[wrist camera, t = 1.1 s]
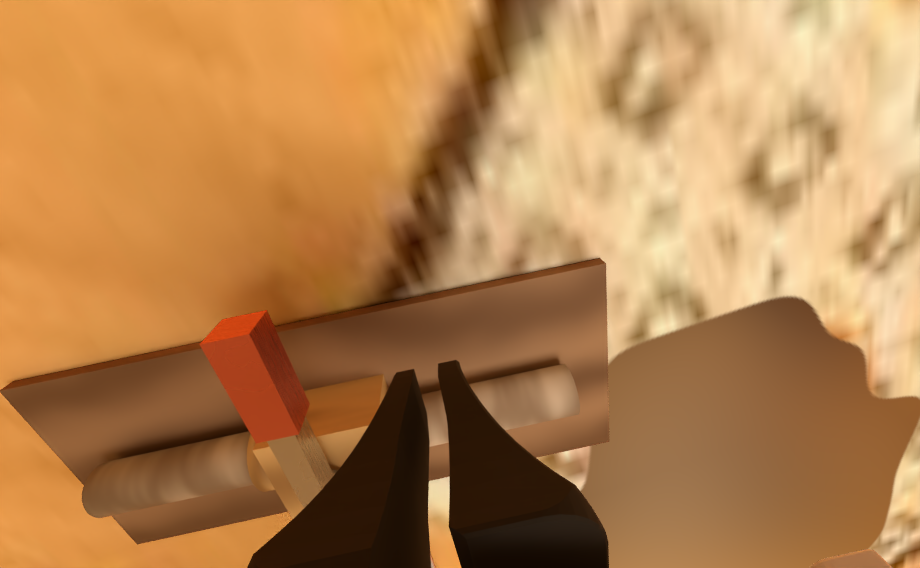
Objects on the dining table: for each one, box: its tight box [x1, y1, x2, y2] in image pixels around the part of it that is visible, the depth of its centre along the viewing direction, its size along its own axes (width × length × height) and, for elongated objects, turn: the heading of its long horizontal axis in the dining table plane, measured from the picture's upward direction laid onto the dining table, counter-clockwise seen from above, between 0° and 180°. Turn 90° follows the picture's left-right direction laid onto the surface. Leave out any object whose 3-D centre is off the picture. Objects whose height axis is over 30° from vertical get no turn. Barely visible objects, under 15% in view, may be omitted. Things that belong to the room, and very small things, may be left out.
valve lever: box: [199, 310, 338, 508], centre depth 17 cm, size 11×2×2 cm, turn 10°
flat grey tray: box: [0, 258, 609, 544], centre depth 23 cm, size 14×34×5 cm, turn 100°
